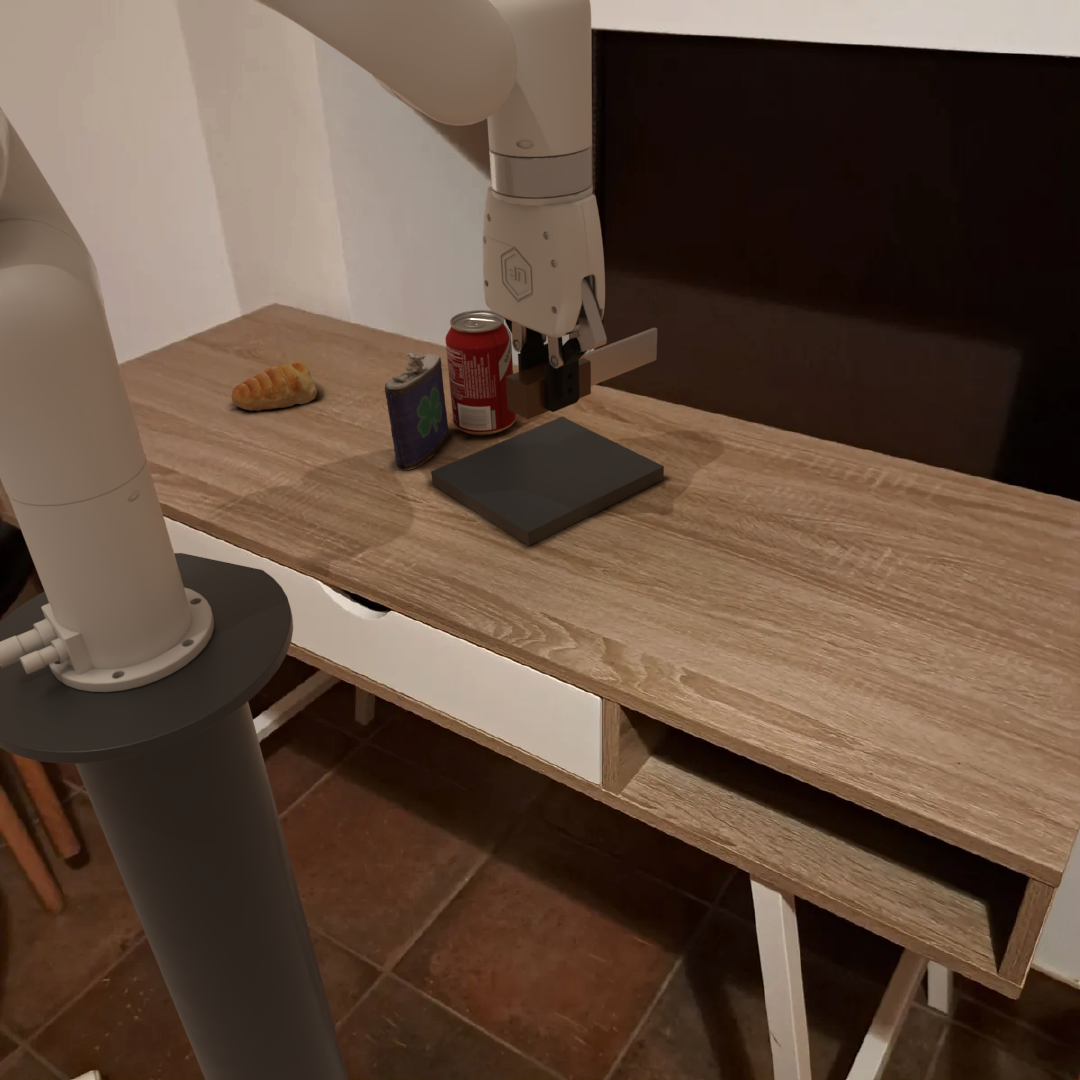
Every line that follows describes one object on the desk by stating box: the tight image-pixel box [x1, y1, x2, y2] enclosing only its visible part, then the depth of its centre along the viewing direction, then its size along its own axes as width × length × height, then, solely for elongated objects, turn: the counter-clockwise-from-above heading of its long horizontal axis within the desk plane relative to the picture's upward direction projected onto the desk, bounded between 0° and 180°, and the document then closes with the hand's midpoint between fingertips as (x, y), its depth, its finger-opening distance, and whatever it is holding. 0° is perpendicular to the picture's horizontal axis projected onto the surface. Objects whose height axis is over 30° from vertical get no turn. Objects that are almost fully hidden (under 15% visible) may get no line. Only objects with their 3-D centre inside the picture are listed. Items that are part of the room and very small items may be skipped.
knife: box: [506, 327, 658, 420], centre depth 86 cm, size 16×3×3 cm, turn 130°
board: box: [430, 416, 665, 547], centre depth 98 cm, size 17×15×2 cm
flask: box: [384, 351, 449, 471], centre depth 102 cm, size 9×3×11 cm, turn 157°
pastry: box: [231, 359, 318, 412], centre depth 116 cm, size 9×7×4 cm
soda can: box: [445, 309, 517, 437], centre depth 106 cm, size 7×7×12 cm
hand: (549, 398), depth 84 cm, fingers closed on knife, 2 cm apart
